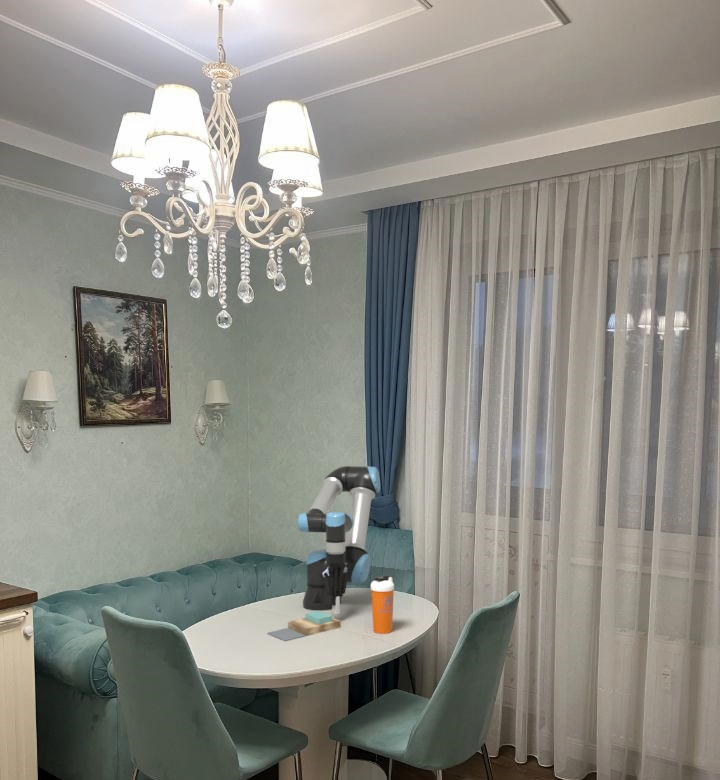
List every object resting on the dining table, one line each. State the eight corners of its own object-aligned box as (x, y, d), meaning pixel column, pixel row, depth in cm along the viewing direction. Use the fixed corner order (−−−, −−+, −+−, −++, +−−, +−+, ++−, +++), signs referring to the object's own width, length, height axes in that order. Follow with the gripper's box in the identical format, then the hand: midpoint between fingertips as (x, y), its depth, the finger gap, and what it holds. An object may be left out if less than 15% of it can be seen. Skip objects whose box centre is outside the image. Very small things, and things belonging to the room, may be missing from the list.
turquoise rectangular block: (317, 616, 277) (317, 611, 277) (332, 621, 270) (332, 616, 271) (305, 619, 273) (305, 614, 274) (319, 624, 267) (319, 619, 267)
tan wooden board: (321, 620, 280) (321, 614, 280) (340, 627, 271) (340, 620, 271) (288, 628, 270) (288, 621, 270) (306, 635, 261) (306, 629, 261)
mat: (286, 628, 270) (286, 628, 270) (305, 636, 261) (305, 635, 261) (266, 633, 264) (266, 632, 264) (285, 641, 255) (284, 640, 255)
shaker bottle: (365, 631, 266) (365, 577, 267) (381, 625, 273) (381, 573, 273) (383, 636, 260) (383, 580, 261) (399, 630, 266) (399, 576, 267)
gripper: (342, 548, 285) (343, 608, 284) (316, 553, 277) (316, 614, 276) (354, 551, 280) (355, 612, 279) (328, 555, 271) (328, 618, 270)
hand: (336, 613), depth 277 cm, fingers closed
